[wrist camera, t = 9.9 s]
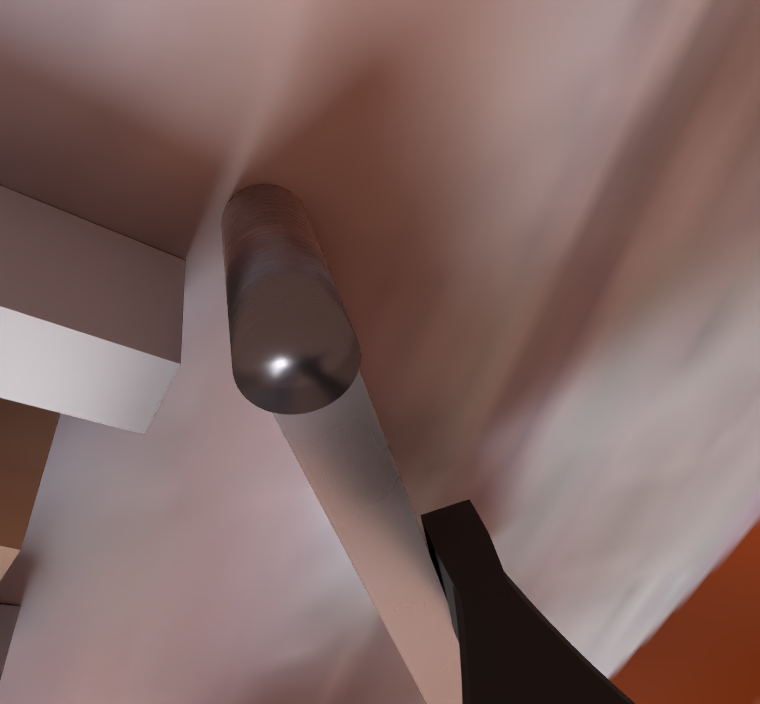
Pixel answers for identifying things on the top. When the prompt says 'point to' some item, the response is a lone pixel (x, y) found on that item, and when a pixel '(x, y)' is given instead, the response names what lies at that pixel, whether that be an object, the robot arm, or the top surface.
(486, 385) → the top surface
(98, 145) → the top surface
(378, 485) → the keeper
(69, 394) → the cradle
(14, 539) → the link block
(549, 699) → the robot arm
